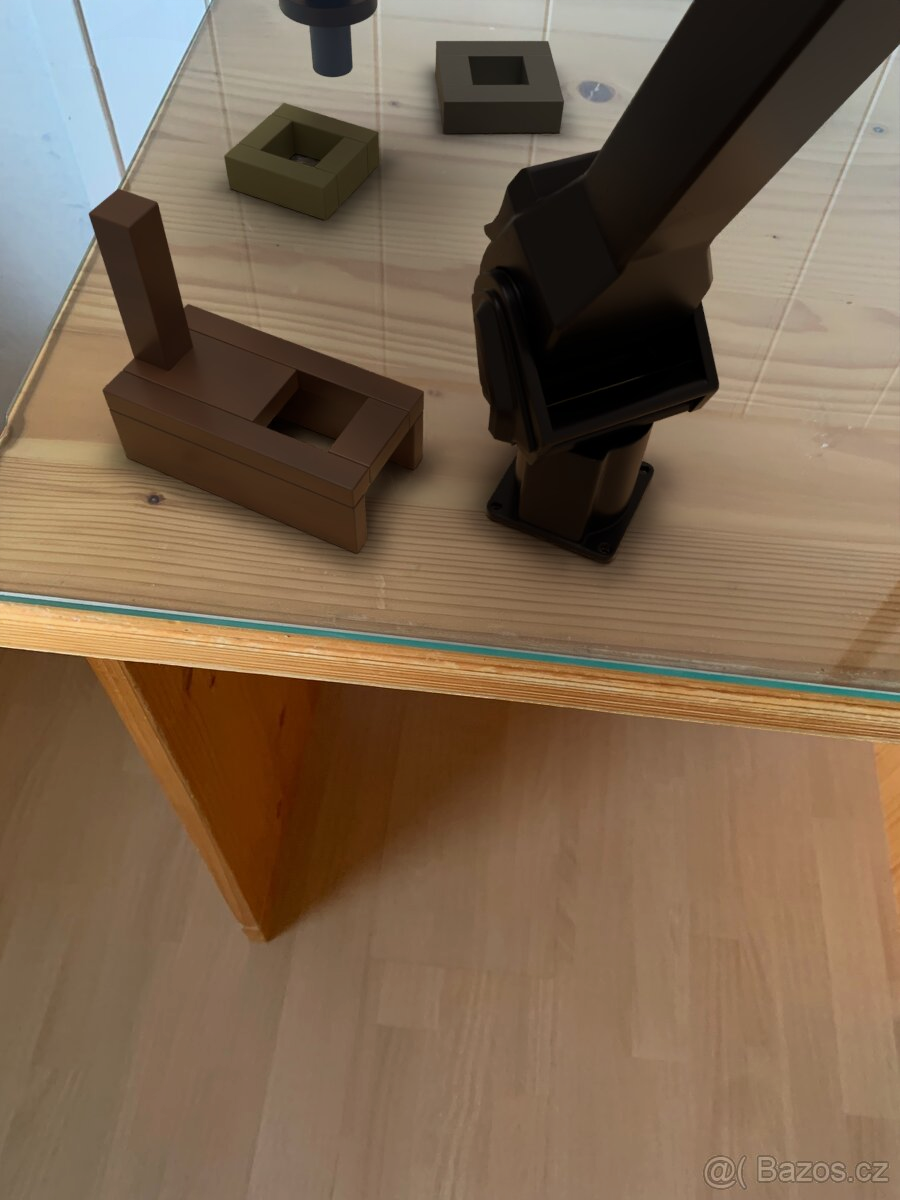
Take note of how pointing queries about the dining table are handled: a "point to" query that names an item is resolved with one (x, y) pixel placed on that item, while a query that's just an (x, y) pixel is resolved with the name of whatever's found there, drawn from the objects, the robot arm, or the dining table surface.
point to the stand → (243, 395)
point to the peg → (329, 30)
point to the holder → (498, 87)
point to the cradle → (295, 185)
